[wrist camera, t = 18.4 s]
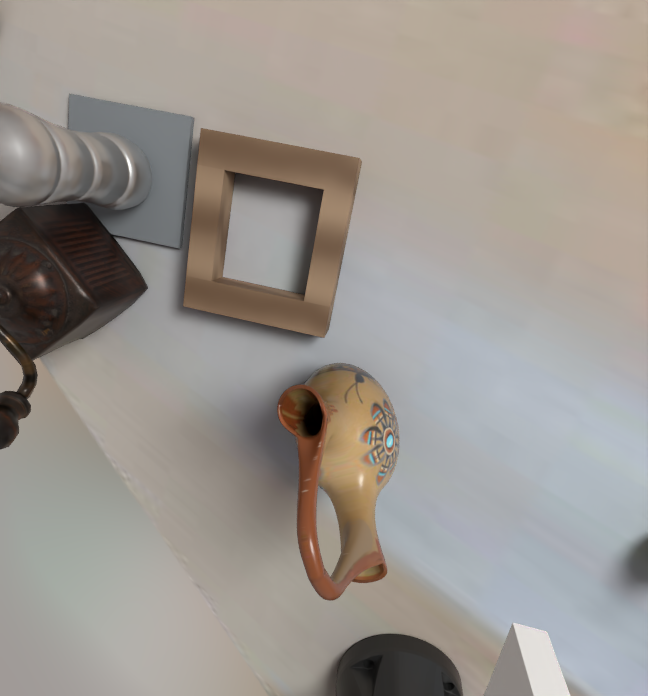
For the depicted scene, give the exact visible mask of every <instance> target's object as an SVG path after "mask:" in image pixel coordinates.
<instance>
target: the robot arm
mask: <svg viewBox="0 0 648 696" xmlns="http://www.w3.org/2000/svg"><path fill="white" fill-rule="evenodd" d="M336 696H463V691H462V684H461V679H460V676H459V673H458V671H457V669H456V667H455V665H454V664H453V663H452V661H451V660H450V659H449V658H448V657H447V656H446V655H445V654H444V653H443V652H442V651H440V650H439V649H438V648H436V647H435V646H433V645H431V644H429V643H427V642H425V641H423V640H420V639H417V638H414V637H410V636H405V635H397V634H386V635H378V636H373V637H370V638H367V639H364V640H362V641H360V642H358V643H357V644H355V645H354V646H352V647H351V648H350V649H349V650H348V651H347V652H346V653H345V655H344V656H343V658H342V659H341V661H340V664H339V667H338V673H337V682H336ZM484 696H570V694H569V691H568V688H567V685H566V683H565V680H564V677H563V674H562V672H561V669H560V666H559V663H558V661H557V658H556V655H555V652H554V649H553V647H552V644H551V641H550V638H549V636H548V633H547V632H546V631H543V630H539V629H535V628H531V627H527V626H524V625H520V624H516V623H512V626H511V628H510V631H509V633H508V636H507V638H506V641H505V643H504V646H503V649H502V651H501V654H500V656H499V659H498V661H497V664H496V666H495V669H494V671H493V674H492V676H491V679H490V681H489V684H488V686H487V689H486V691H485V694H484Z"/></svg>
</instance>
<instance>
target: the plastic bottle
mask: <svg viewBox="0 0 648 696" xmlns="http://www.w3.org/2000/svg"><path fill="white" fill-rule="evenodd" d="M151 184H152V172H151V167H150V164H149V161H148V159H147V157H146V156H145V154H144V153H143V152H142V150H141V149H140V148H139V147H138V146H137V145H135V144H134V143H132V142H131V141H129V140H128V139H126V138H125V137H123V136H120V135H118V134H115V133H109V132H93V133H88V132H80V131H73V130H70V129H67V128H64V127H61V126H58V125H55V124H53V123H50V122H48V121H46V120H44V119H42V118H40V117H38V116H36V115H34V114H32V113H29V112H28V111H25V110H23V109H21V108H18V107H15V106H12V105H10V104H6V103H0V203H1V204H4V205H7V206H12V207H26V206H34V205H40V204H46V203H52V202H57V201H81V202H87V203H93V204H96V205H98V206H101V207H104V208H109V209H113V210H123V209H127V208H131V207H134V206H136V205H138V204H140V203H141V202H142V201H143V200H145V198H146V197H147V195H148V193H149V191H150V189H151Z"/></svg>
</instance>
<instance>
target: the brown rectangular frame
mask: <svg viewBox="0 0 648 696" xmlns="http://www.w3.org/2000/svg"><path fill="white" fill-rule="evenodd" d="M361 163H362V161H361V160H360V158H356V157H351V156H346V155H340V154H335V153H330V152H324V151H319V150H314V149H309V148H303V147H298V146H293V145H288V144H282V143H277V142H272V141H266V140H261V139H256V138H251V137H245V136H240V135H235V134H230V133H224V132H219V131H214V130H208V129H203V128H201V133H200V143H199V153H198V163H197V173H196V183H195V193H194V203H193V213H192V223H191V233H190V243H189V252H188V262H187V272H186V282H185V292H184V302H183V306H184V307H189V308H193V309H198V310H202V311H207V312H211V313H216V314H220V315H225V316H229V317H234V318H238V319H242V320H247V321H251V322H256V323H260V324H265V325H269V326H274V327H278V328H283V329H287V330H292V331H296V332H301V333H305V334H310V335H314V336H319V337H323V338H324V337H325V335H326V334H327V332H328V330H329V325H330V320H331V315H332V310H333V304H334V299H335V294H336V289H337V284H338V279H339V274H340V269H341V264H342V259H343V254H344V249H345V244H346V239H347V234H348V229H349V224H350V219H351V214H352V209H353V204H354V199H355V194H356V189H357V184H358V178H359V173H360V168H361ZM235 173H240V174H245V175H250V176H255V177H261V178H266V179H271V180H276V181H281V182H286V183H291V184H296V185H301V186H306V187H311V188H317V189H322V190H324V192H323V197H322V203H321V208H320V214H319V220H318V225H317V231H316V236H315V242H314V248H313V253H312V259H311V264H310V270H309V276H308V281H307V287H306V292H305V295H303V294H299V293H294V292H289V291H285V290H280V289H276V288H271V287H266V286H262V285H257V284H252V283H248V282H243V281H239V280H234V279H229V278H225V277H222V276H223V268H224V260H225V252H226V244H227V236H228V228H229V219H230V211H231V203H232V195H233V187H234V179H235Z"/></svg>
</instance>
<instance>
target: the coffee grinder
mask: <svg viewBox="0 0 648 696" xmlns="http://www.w3.org/2000/svg"><path fill="white" fill-rule="evenodd" d="M147 289H148V286H147V284H146V283H145V281H144V279H143V277H142V275H141V273H140V272H139V271H138V269H137V268H136V266H135V265H134V264H133V262H132V261H131V260H130V258H129V257H128V256H127V254H126V253H125V252H124V250H123V249H122V248H121V246H120V245H119V244H118V242H117V241H116V240H115V239H114V237H113V236H112V235H111V234H110V232H109V231H108V230H107V229H106V227H105V226H104V225H103V224H102V223H101V221H100V220H99V219H98V218H97V216H96V215H95V214H94V213H93V212H92V210H91V209H90V208H89V207H88V205H87V204H86V203H83V202H82V203H76V204H60V205H45V206H32V207H19V208H17V209H15V210H14V211H13V212H11V213H10V214H9V215H8V216H6V217H5V218H4V219H3V220H2V221H0V341H1V343H2V344H3V345H4V346H5V347H6V349H7V350H8V351H9V352H10V353H11V354H12V356H14V358H15V359H16V360H17V361H18V363H19V364H20V365H21V366H22V370H23V375H24V377H23V382H22V384H21V386H20V387H19V389H18V391H17V392H14V391H5V392H2V393H0V449H3V448H6V447H9V446H10V445H11V443H12V442H13V441H14V439H15V438H16V436H17V435H18V433H19V426H18V420H20V419H21V418H26V417H27V416H28V415H29V413H30V411H31V405H30V403H29V402H28V400H27V399H28V398H29V397H30V395H31V394H32V392H33V389H34V388H35V386H36V383H37V371H36V366H35V364H34V362H33V360H35V359H37V358H39V357H41V356H43V355H45V354H47V353H49V352H51V351H53V350H55V349H57V348H59V347H61V346H63V345H65V344H68V343H70V342H73V341H75V340H78V339H83V338H85V337H86V336H88V335H90V334H91V333H93V332H95V331H96V330H98V329H99V328H101V327H103V326H104V325H105V324H107V323H108V322H109V321H111V320H112V319H114V318H115V317H116V316H118V315H119V314H120V313H122V312H123V311H124V310H125V309H127V308H128V307H129V306H131V305H132V304H133V303H134V302H135V301H136V300H137V299H138V298H139V297H140V296H141V295H142V294H143V293H144V292H145V291H146V290H147Z"/></svg>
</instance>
